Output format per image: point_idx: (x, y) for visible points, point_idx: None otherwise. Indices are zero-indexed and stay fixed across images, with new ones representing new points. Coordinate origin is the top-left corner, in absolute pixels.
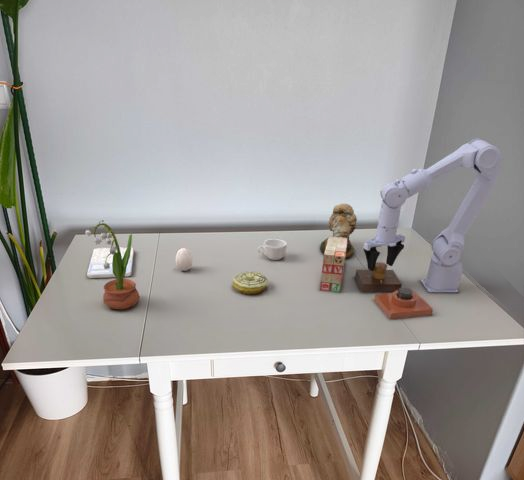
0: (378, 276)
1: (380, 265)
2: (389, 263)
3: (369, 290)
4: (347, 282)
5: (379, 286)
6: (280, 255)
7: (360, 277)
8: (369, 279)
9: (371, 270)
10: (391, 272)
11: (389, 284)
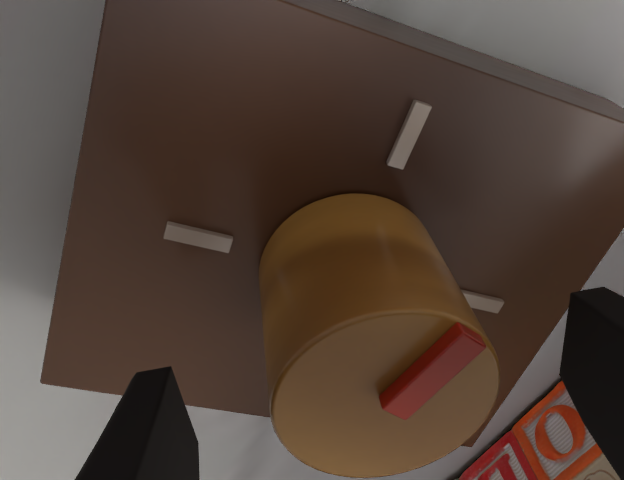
0: (419, 228)
1: (434, 376)
2: (179, 426)
3: (550, 80)
4: (561, 321)
5: (462, 60)
6: None
7: (567, 299)
8: (510, 231)
9: (615, 298)
10: (96, 329)
11: (333, 19)
